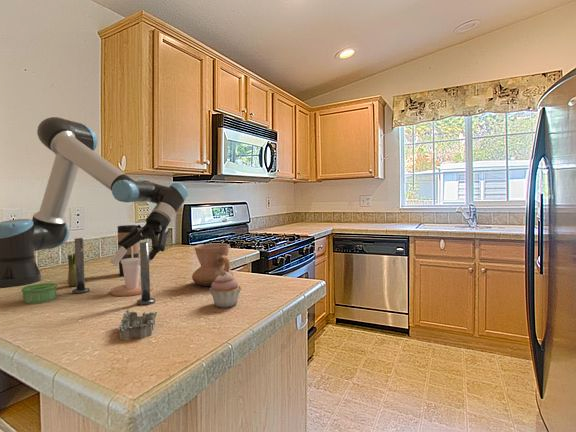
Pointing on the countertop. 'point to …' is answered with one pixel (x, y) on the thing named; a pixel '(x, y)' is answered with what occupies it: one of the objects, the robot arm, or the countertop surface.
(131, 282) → the smoothie
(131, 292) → the coaster
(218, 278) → the cupcake
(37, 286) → the ramekin
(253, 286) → the countertop surface
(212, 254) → the ceramic jug
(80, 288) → the rod gate
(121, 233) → the travel mug
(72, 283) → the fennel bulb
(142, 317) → the grey castle model
